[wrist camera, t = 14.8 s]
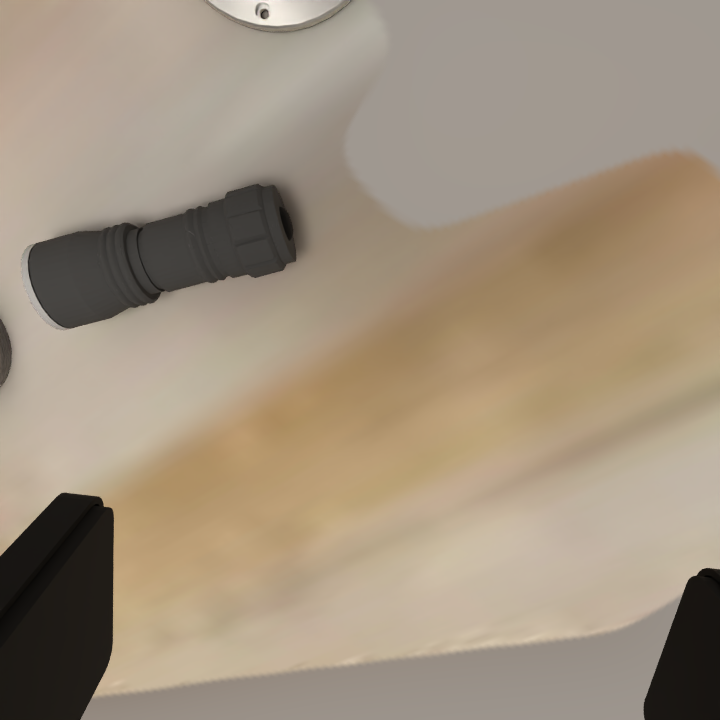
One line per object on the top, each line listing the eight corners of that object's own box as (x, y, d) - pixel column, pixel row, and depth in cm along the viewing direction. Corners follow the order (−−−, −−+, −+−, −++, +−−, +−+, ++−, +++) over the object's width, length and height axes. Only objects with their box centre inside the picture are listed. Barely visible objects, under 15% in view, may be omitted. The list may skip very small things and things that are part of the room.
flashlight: (282, 175, 37) (269, 175, 31) (306, 259, 38) (298, 272, 33) (54, 239, 38) (6, 250, 33) (87, 318, 39) (46, 340, 34)
